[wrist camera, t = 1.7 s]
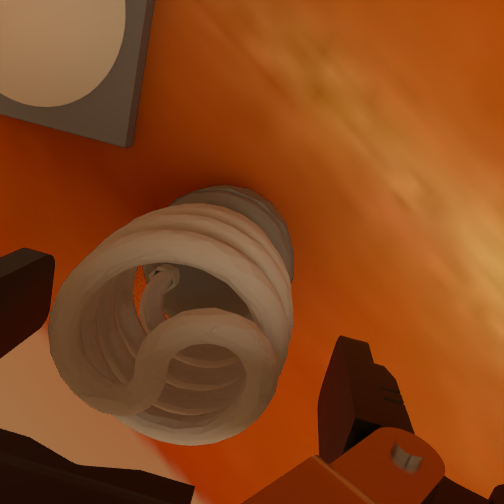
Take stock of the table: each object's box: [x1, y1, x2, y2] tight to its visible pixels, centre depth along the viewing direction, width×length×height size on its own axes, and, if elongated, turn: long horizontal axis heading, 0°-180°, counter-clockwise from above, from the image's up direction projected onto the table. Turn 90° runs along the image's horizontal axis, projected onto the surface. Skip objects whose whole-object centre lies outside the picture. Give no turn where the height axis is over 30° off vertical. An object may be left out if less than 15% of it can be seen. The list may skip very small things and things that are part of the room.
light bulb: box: [48, 185, 294, 446], centre depth 15 cm, size 6×6×12 cm
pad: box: [0, 0, 155, 148], centre depth 18 cm, size 9×9×1 cm
